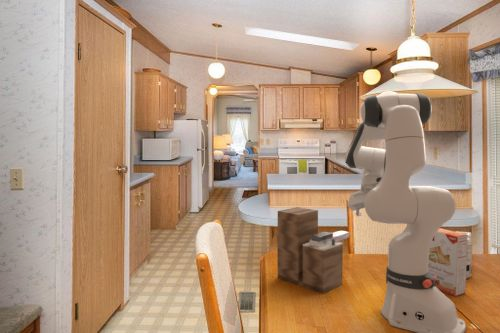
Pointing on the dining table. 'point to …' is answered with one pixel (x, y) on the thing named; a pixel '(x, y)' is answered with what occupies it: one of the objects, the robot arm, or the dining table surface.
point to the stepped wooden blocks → (307, 252)
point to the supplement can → (468, 258)
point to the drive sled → (327, 238)
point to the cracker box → (449, 261)
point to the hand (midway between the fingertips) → (368, 212)
